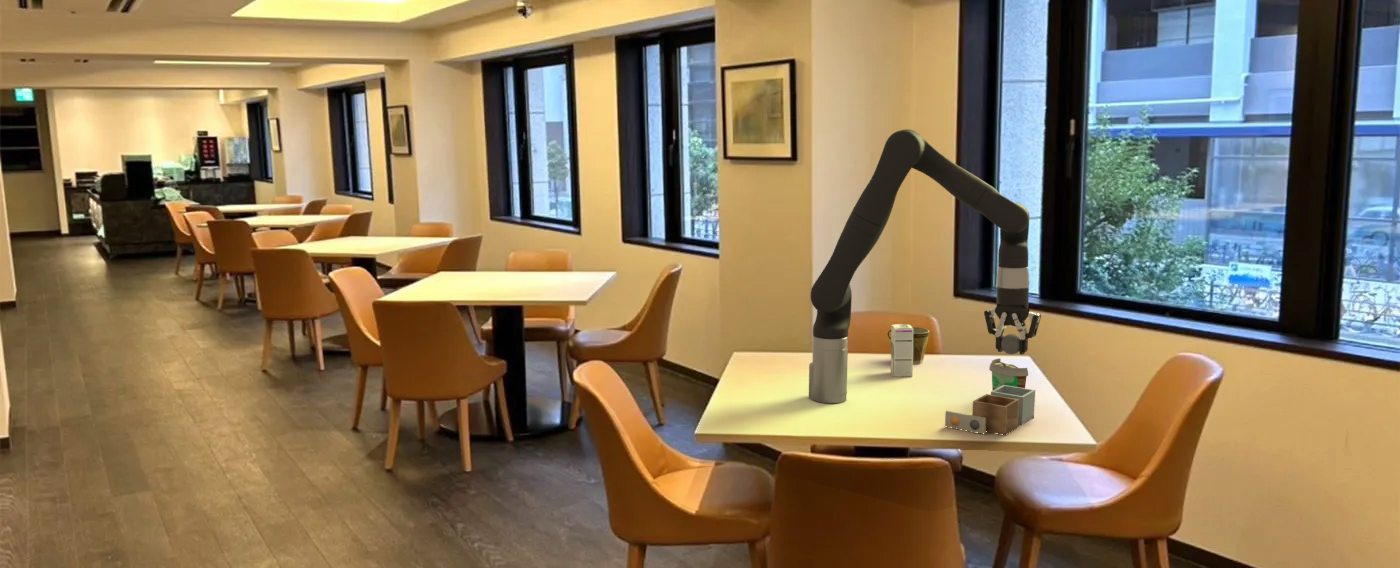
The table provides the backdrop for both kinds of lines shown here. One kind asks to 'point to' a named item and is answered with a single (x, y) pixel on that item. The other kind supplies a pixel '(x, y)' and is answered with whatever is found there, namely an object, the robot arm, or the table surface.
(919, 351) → the ceramic cup
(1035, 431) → the table surface
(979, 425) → the card
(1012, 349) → the charcoal ball
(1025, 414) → the slate bin
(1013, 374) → the food container
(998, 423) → the brown bin
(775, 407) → the table surface
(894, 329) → the syrup box
